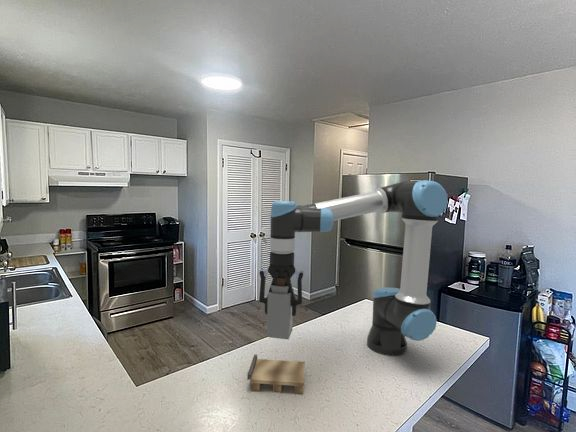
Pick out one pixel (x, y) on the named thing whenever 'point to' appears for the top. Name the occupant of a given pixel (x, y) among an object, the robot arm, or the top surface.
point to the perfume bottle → (279, 311)
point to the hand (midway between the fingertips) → (280, 324)
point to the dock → (276, 374)
